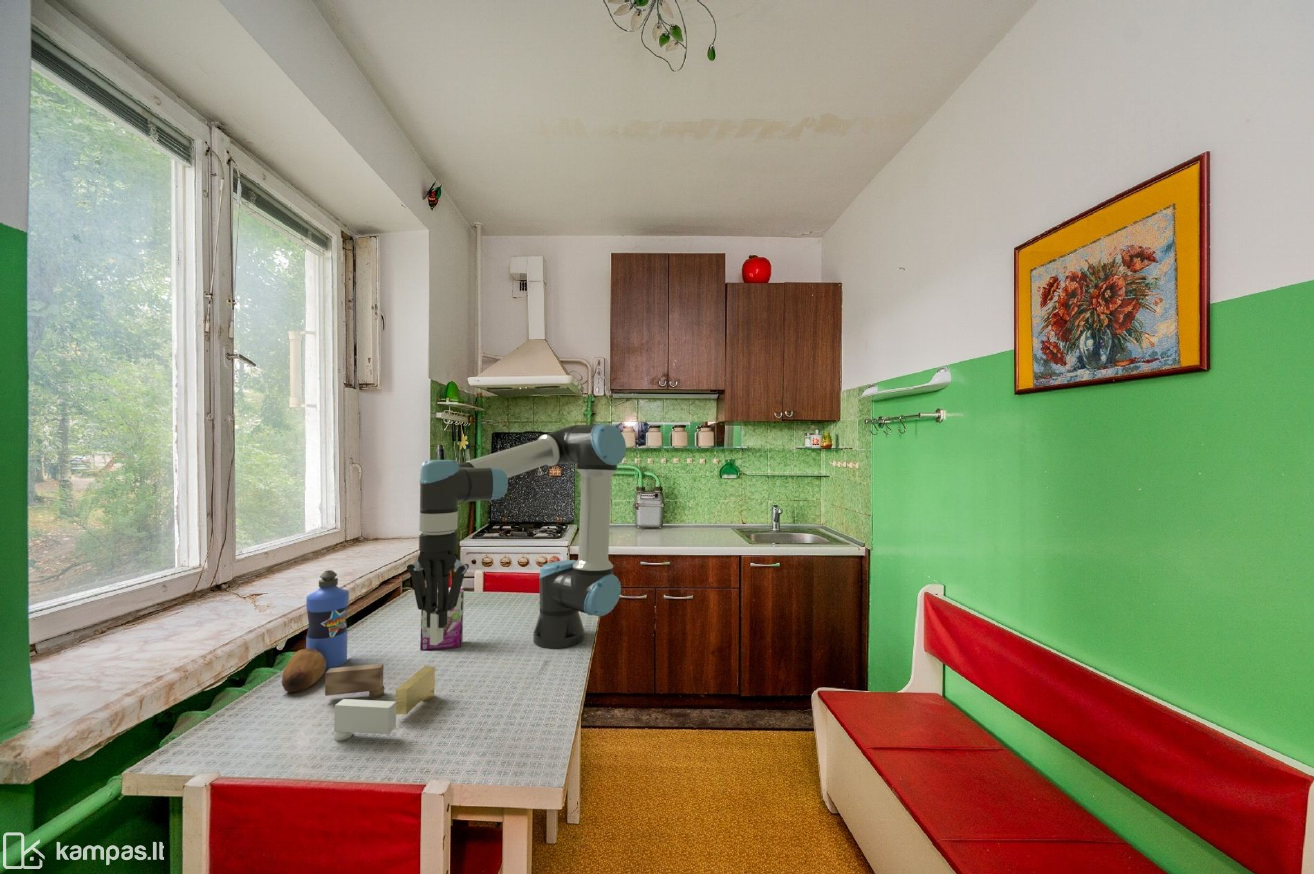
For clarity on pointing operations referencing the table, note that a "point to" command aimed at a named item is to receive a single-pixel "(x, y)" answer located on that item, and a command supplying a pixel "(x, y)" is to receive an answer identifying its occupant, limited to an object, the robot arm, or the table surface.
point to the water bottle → (328, 620)
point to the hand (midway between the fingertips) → (436, 642)
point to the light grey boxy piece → (363, 717)
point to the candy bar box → (450, 631)
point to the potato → (303, 670)
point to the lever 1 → (355, 680)
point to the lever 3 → (415, 690)
